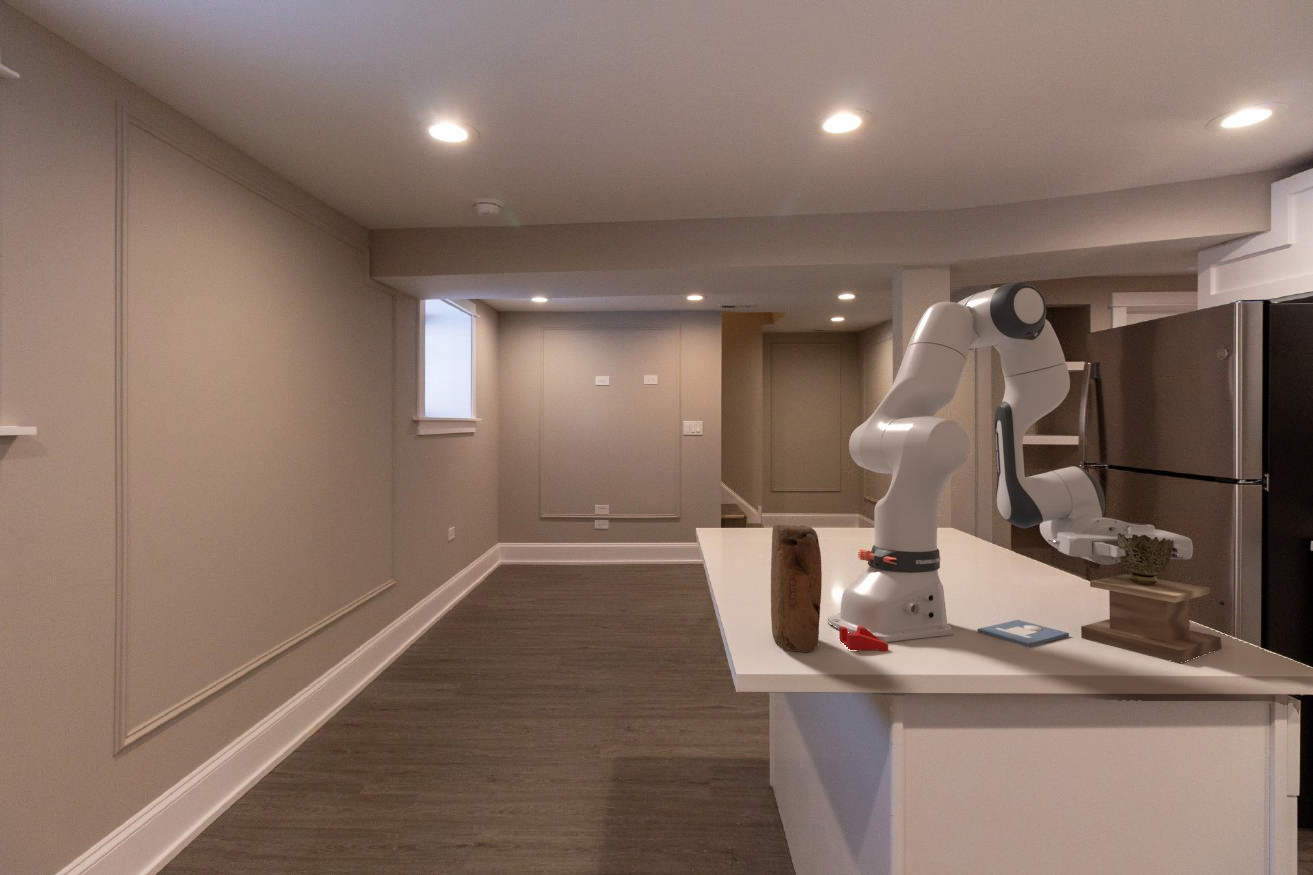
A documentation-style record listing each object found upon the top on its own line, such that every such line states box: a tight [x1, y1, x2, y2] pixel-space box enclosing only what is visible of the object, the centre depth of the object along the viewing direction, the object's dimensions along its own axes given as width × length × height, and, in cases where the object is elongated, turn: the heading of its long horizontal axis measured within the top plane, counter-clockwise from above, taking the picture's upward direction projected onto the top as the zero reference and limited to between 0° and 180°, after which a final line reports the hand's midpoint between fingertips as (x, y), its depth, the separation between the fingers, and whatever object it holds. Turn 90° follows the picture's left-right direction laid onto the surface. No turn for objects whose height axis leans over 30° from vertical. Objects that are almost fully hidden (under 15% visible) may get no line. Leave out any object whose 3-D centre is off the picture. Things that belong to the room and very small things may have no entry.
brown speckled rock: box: [770, 524, 823, 653], centre depth 102 cm, size 11×8×20 cm
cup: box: [1117, 533, 1174, 585], centre depth 102 cm, size 8×7×8 cm
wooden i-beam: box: [1080, 573, 1222, 664], centre depth 101 cm, size 14×14×10 cm
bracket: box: [838, 626, 889, 652], centre depth 100 cm, size 6×5×3 cm
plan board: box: [977, 619, 1070, 648], centre depth 106 cm, size 12×9×1 cm
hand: (1151, 553), depth 101 cm, fingers open, 8 cm apart
